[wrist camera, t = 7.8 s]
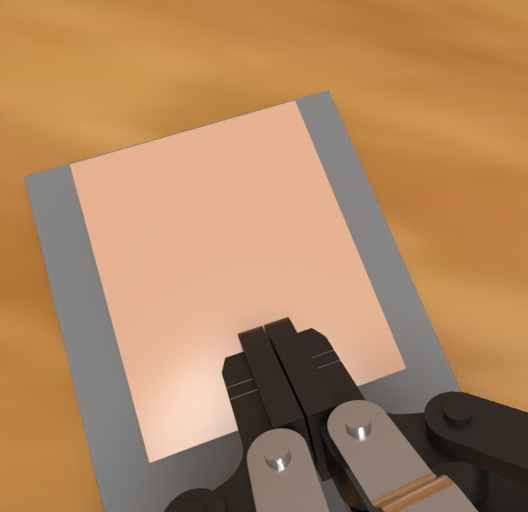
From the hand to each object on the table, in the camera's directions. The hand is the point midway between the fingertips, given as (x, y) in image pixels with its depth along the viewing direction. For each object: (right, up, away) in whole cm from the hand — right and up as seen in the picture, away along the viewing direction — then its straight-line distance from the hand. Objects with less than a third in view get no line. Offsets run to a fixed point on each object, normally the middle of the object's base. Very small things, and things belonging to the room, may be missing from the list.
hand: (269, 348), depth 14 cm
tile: (0, -3, +4) cm, 5 cm away
